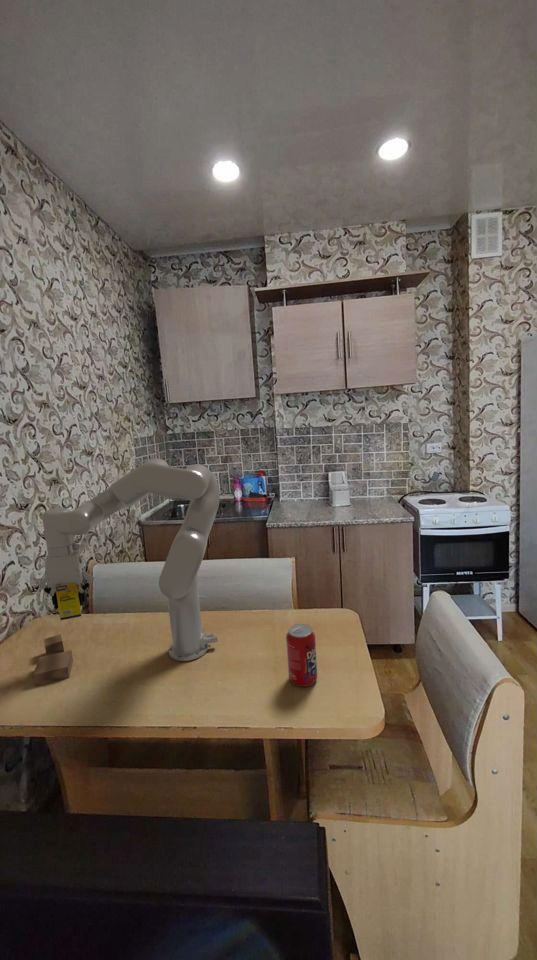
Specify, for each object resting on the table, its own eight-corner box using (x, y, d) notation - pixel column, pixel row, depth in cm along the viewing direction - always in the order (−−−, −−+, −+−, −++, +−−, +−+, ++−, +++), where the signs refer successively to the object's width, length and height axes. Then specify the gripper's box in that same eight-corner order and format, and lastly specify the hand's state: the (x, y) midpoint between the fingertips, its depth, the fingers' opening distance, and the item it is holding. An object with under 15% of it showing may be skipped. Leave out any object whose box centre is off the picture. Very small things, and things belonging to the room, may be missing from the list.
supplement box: (81, 616, 127) (76, 582, 125) (60, 621, 125) (54, 586, 123) (83, 607, 132) (78, 575, 130) (62, 612, 130) (57, 579, 128)
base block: (73, 661, 132) (71, 650, 131) (69, 678, 123) (67, 666, 123) (41, 668, 129) (39, 657, 128) (35, 687, 121) (33, 674, 120)
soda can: (284, 675, 118) (281, 626, 115) (309, 667, 120) (306, 619, 118) (296, 692, 110) (292, 641, 108) (322, 683, 113) (319, 633, 110)
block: (63, 647, 140) (60, 634, 139) (64, 654, 135) (62, 640, 134) (46, 653, 137) (43, 639, 136) (47, 660, 133) (44, 646, 132)
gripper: (95, 542, 130) (102, 596, 133) (35, 548, 127) (44, 603, 130) (89, 550, 122) (96, 607, 126) (25, 557, 120) (35, 614, 123)
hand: (70, 604), depth 128 cm, fingers closed on supplement box, 6 cm apart
